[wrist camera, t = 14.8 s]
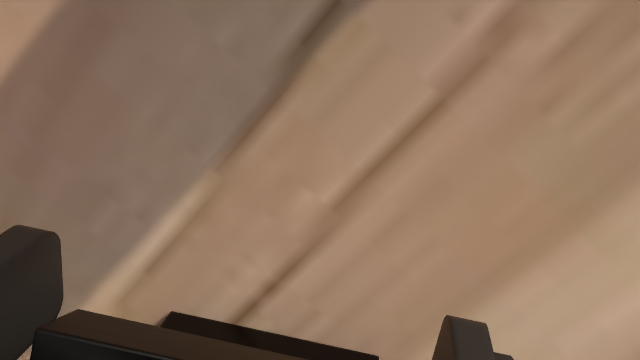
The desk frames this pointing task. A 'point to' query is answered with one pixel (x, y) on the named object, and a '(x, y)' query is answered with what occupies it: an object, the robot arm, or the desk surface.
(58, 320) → the lever
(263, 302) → the desk surface
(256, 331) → the black lever stand
